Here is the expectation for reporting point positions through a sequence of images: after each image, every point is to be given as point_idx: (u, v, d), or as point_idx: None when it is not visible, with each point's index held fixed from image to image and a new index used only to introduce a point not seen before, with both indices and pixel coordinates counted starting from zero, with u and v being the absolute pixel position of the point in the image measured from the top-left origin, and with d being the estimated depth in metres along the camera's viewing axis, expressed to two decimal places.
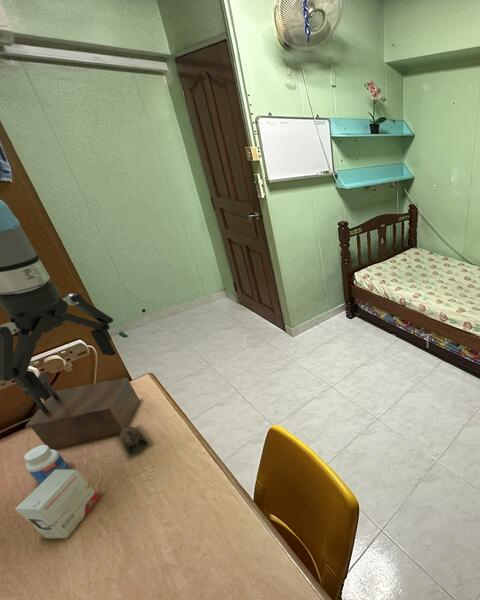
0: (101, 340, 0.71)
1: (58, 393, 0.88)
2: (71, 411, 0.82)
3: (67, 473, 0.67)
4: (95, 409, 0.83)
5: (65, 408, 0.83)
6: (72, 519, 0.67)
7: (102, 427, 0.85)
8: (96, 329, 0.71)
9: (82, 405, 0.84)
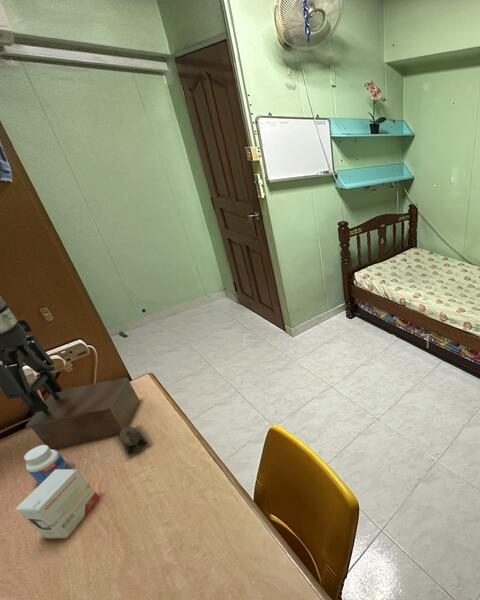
0: (48, 380, 0.84)
1: (58, 393, 0.88)
2: (71, 411, 0.82)
3: (68, 473, 0.67)
4: (95, 409, 0.83)
5: (65, 408, 0.83)
6: (72, 519, 0.67)
7: (102, 427, 0.85)
8: (41, 372, 0.83)
9: (82, 405, 0.84)
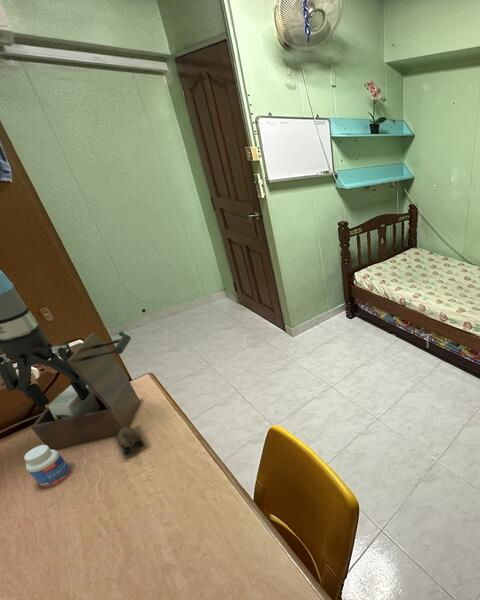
0: None
1: (96, 339, 0.85)
2: (95, 380, 0.81)
3: None
4: (105, 398, 0.83)
5: (93, 370, 0.81)
6: None
7: (102, 427, 0.85)
8: None
9: (102, 381, 0.83)
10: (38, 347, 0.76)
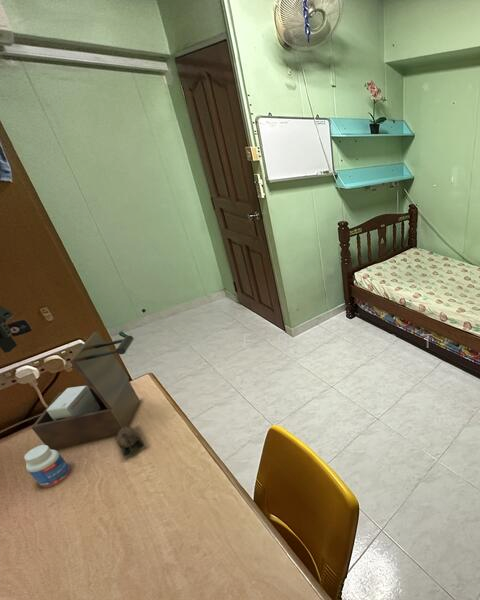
0: None
1: (98, 339, 0.85)
2: (96, 380, 0.81)
3: (80, 388, 0.87)
4: (106, 398, 0.83)
5: (95, 369, 0.81)
6: None
7: (102, 427, 0.85)
8: None
9: (103, 381, 0.83)
10: None
